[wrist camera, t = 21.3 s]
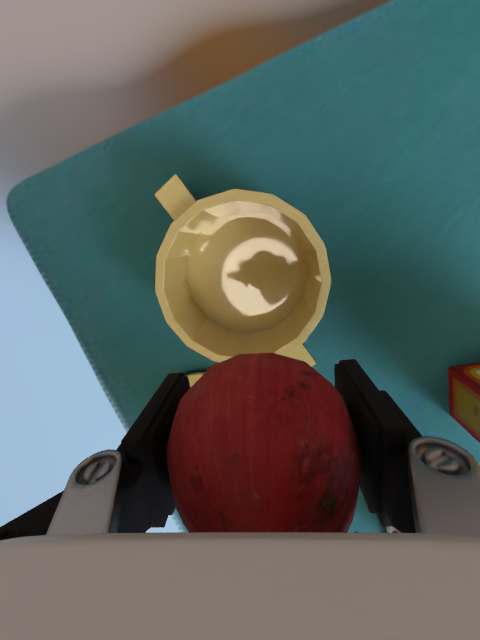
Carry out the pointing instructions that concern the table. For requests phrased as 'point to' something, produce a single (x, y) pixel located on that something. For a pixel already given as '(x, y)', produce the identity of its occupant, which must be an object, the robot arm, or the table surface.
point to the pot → (240, 273)
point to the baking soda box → (465, 397)
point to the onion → (264, 450)
